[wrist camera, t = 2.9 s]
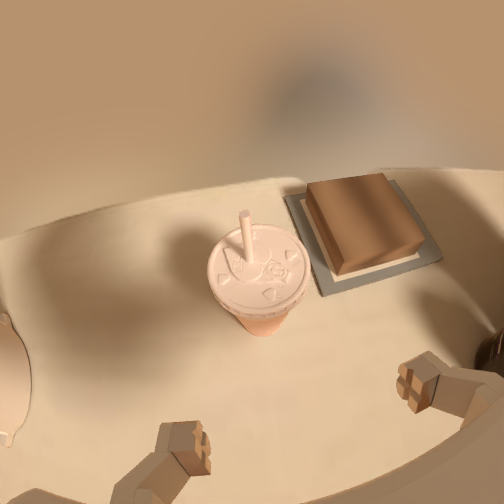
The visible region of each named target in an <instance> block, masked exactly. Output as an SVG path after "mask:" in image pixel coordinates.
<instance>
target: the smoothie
mask: <svg viewBox="0 0 504 504" xmlns="http://www.w3.org/2000/svg"><path fill="white" fill-rule="evenodd" d="M239 220H240V228H237V229H235V230H233V231H231V232H229V233H228V234H226V235H225V236H224V237H223V238H222V239H220V240H219V242H218V243H217V244H216V245H215V247H214V248H213V250H212V252H211V254H210V257H209V260H208V265H207V275H208V280H209V283H210V287H211V290H212V292H213V294H214V297H215V298H216V299H217V301H218V302H219V303H220V304H221V305H222V306H223V307H224V308H225V309H227V310H228V311H230V312H231V313H233V314H234V315H235V316H236V317H237V318H238V319H239V321H240V322H241V323H242V324H243V326H244V327H245V328H246V329H247V330H248V331H249V332H250V333H251V334H253V335H256V336H269V335H271V334H273V333H275V332H276V331H277V330H278V329H279V328H280V326H281V324H282V323H283V321H284V319H285V318H286V316H287V314H288V312H289V311H290V310H291V309H292V308H293V307H294V306H296V305H297V304H298V303H299V302H300V301H301V299H302V297H303V296H304V294H305V293H306V291H307V288H308V284H309V281H310V269H311V266H310V259H309V256H308V253H307V251H306V249H305V247H304V245H303V244H302V243H301V241H300V240H299V239H298V238H297V237H296V236H294V235H293V234H292V233H290V232H289V231H287V230H285V229H283V228H280V227H277V226H274V225H268V224H251V216H250V211H249V210H247V209H243V210H241V211H240V212H239Z"/></svg>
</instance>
